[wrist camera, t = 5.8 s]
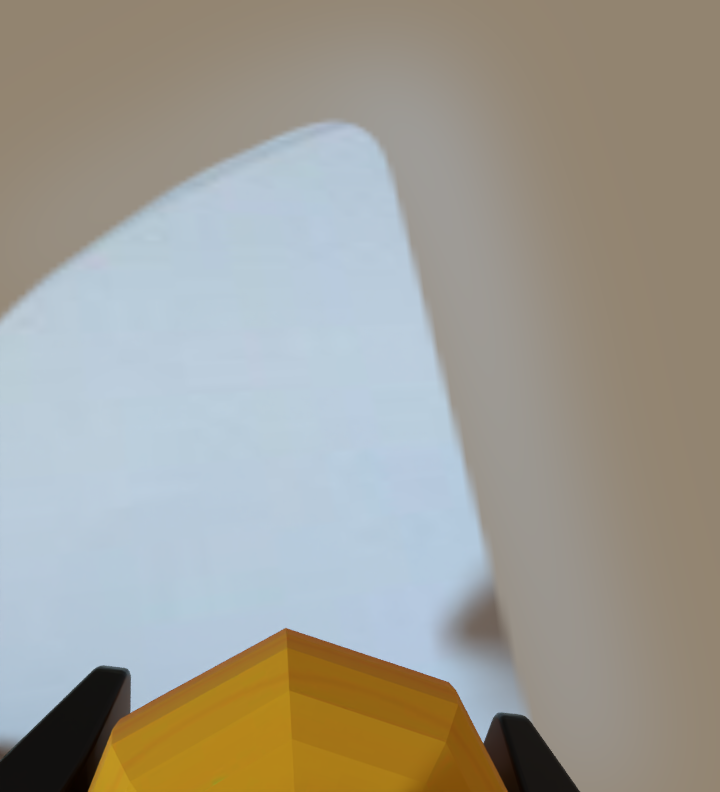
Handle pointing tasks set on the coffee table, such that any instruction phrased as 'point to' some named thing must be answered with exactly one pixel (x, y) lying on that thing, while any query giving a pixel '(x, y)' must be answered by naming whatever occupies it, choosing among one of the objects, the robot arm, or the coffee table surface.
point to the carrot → (300, 729)
